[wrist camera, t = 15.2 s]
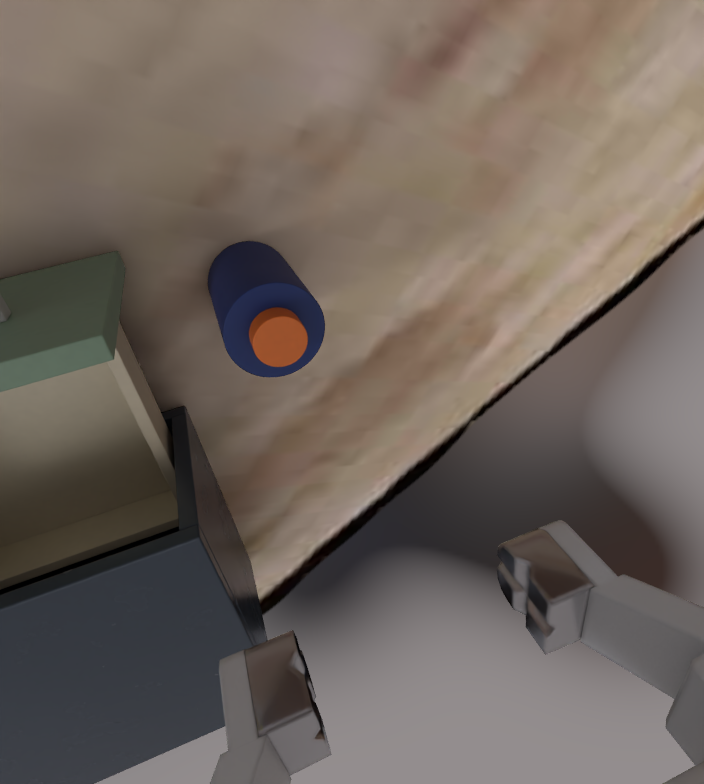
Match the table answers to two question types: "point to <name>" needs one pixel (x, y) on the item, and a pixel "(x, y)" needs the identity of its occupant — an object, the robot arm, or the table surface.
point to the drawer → (75, 423)
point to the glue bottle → (264, 310)
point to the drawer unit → (127, 640)
